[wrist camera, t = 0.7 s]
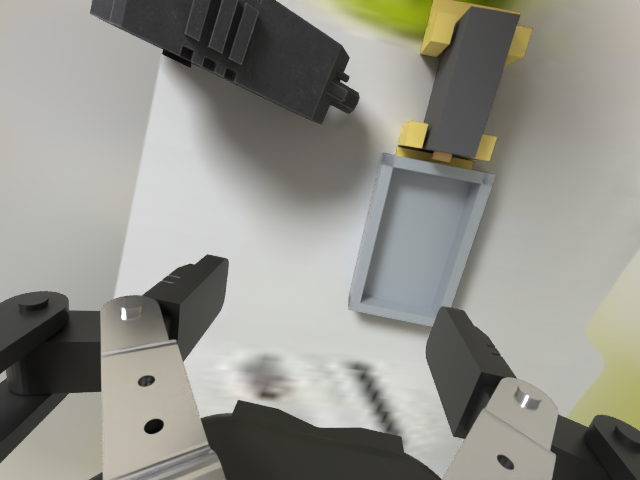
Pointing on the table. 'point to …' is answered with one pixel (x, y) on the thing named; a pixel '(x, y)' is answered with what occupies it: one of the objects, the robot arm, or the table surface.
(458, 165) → the blocks
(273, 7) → the tool
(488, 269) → the table surface
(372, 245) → the tray
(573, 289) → the table surface
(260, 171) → the table surface
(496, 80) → the grey slab
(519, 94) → the table surface
